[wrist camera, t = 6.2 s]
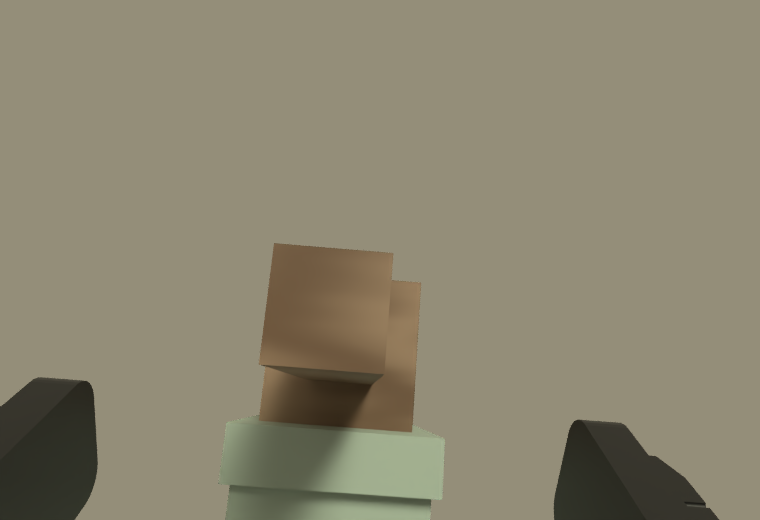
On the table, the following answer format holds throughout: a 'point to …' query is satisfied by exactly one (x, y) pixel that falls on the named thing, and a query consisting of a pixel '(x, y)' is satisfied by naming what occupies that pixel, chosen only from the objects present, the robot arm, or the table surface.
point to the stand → (329, 472)
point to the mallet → (339, 340)
